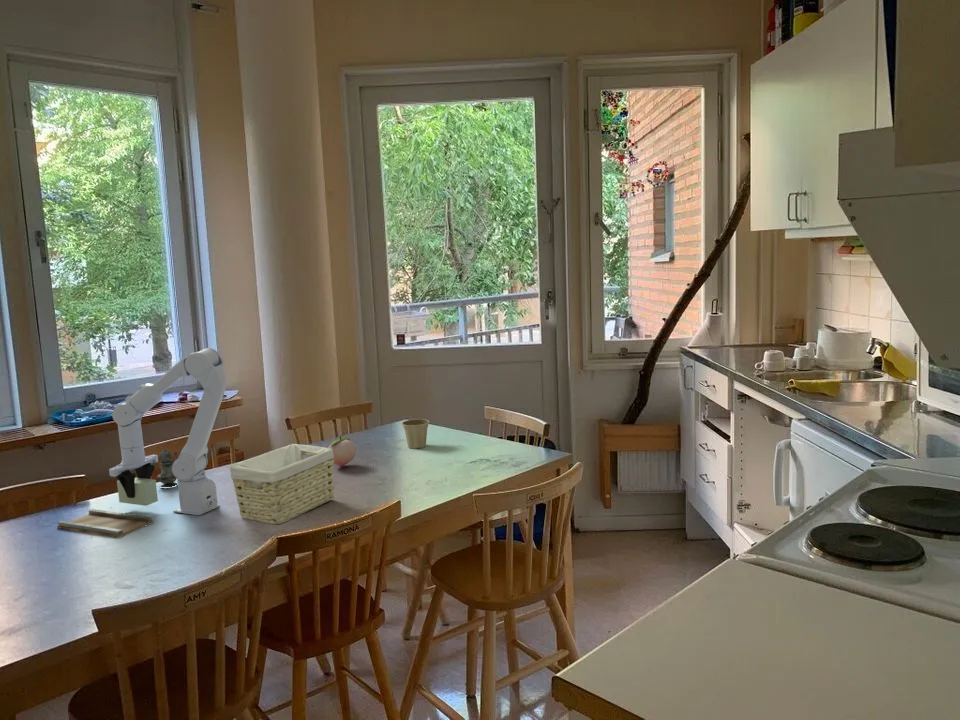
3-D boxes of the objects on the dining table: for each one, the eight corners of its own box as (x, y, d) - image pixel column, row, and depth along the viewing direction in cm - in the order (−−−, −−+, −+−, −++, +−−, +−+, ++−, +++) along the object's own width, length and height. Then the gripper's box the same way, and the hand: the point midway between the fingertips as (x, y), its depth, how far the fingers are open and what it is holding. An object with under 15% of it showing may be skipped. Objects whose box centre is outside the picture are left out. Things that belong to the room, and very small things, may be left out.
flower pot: (429, 449, 262) (428, 424, 260) (401, 450, 262) (400, 425, 261) (431, 442, 271) (430, 418, 270) (404, 443, 271) (403, 419, 270)
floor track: (153, 522, 203) (152, 517, 202) (118, 537, 193) (117, 531, 193) (94, 513, 212) (93, 508, 212) (57, 528, 202) (56, 522, 202)
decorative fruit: (348, 471, 240) (345, 440, 239) (324, 470, 243) (322, 439, 241) (362, 463, 249) (359, 433, 247) (339, 462, 252) (337, 432, 250)
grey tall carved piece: (172, 489, 231) (167, 450, 229) (154, 489, 232) (150, 450, 230) (183, 483, 236) (179, 444, 235) (166, 483, 238) (161, 444, 236)
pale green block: (157, 501, 211) (155, 479, 211) (146, 505, 208) (143, 484, 207) (131, 497, 216) (128, 476, 215) (119, 502, 212) (116, 481, 211)
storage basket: (276, 528, 194) (271, 471, 192) (231, 519, 202) (226, 464, 200) (340, 499, 214) (336, 447, 212) (297, 492, 223) (292, 442, 220)
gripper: (142, 438, 218) (148, 485, 220) (98, 452, 205) (104, 501, 207) (161, 440, 215) (166, 487, 217) (117, 454, 202) (123, 504, 204)
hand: (137, 494), depth 211 cm, fingers closed on pale green block, 4 cm apart
